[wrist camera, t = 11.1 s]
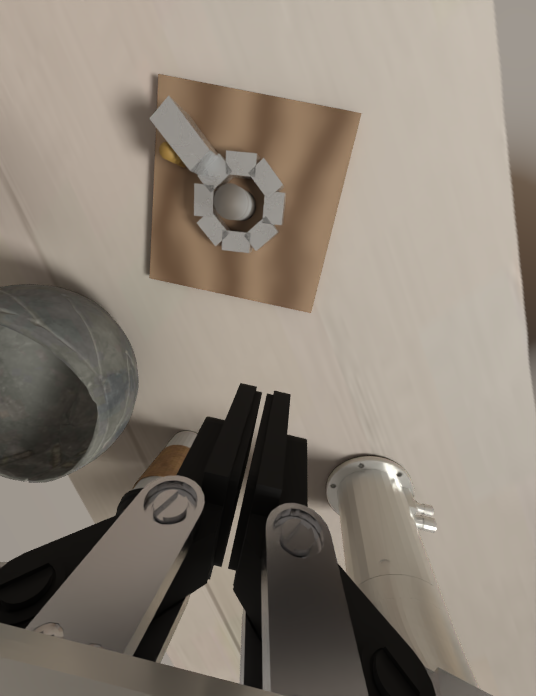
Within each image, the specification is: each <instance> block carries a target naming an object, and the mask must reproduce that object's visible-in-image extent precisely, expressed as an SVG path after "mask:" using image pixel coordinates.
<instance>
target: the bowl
mask: <svg viewBox="0 0 536 696" xmlns="http://www.w3.org/2000/svg"><path fill="white" fill-rule="evenodd" d="M137 393H138V370H137V362H136V358H135V355H134V351H133V349H132V346H131V344H130V342H129V340H128V338H127V336H126V335H125V333H124V332H123V330H122V329H121V328H120V326H119V325H118V324H117V323H116V321H115V320H114V319H113V318H112V317H111V316H110V315H109V314H108V313H107V312H106V311H105V310H104V309H103V308H102V307H100V306H99V305H98V304H96V303H95V302H93V301H91V300H90V299H88V298H86V297H84V296H82V295H79V294H77V293H75V292H72V291H69V290H66V289H63V288H60V287H54V286H45V285H31V284H27V285H11V286H5V287H0V476H2V477H6V478H9V479H13V480H19V481H29V482H30V483H32V482H33V483H38V482H39V483H40V482H48V481H53V480H56V479H59V478H61V477H63V476H66V475H68V474H70V473H72V472H74V471H76V470H79V469H80V468H82V467H83V466H85V465H87V464H88V463H90V462H91V461H93V460H94V459H96V458H97V457H98V456H100V455H101V454H102V453H103V452H105V451H106V450H107V449H108V448H109V447H110V446H111V445H112V444H113V443H114V442H115V440H116V439H117V438H118V437H119V435H120V434H121V433H122V431H123V430H124V429H125V427H126V425H127V423H128V422H129V420H130V417H131V415H132V412H133V409H134V405H135V401H136V397H137Z"/></svg>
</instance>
